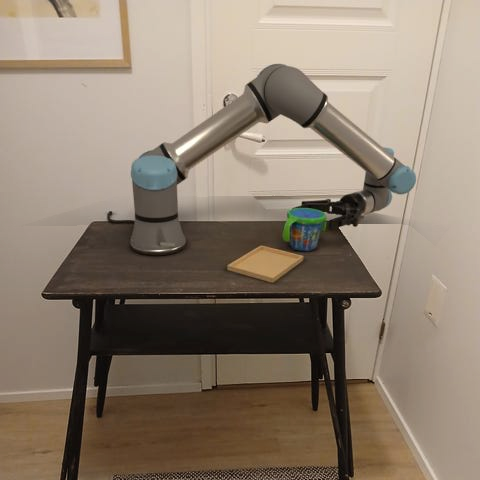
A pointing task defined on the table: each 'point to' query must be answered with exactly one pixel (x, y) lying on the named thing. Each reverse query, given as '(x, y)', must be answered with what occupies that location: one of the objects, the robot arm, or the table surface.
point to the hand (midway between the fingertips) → (310, 218)
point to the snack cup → (304, 228)
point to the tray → (265, 263)
